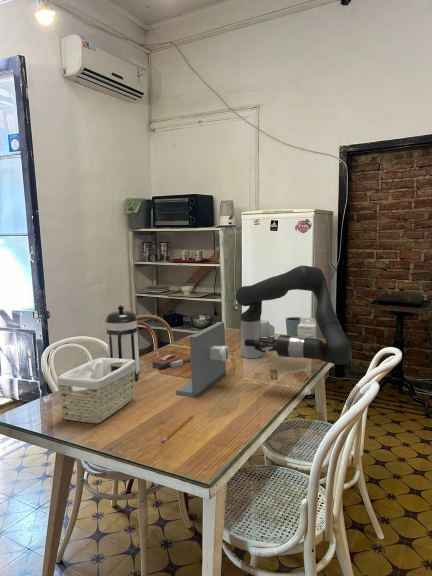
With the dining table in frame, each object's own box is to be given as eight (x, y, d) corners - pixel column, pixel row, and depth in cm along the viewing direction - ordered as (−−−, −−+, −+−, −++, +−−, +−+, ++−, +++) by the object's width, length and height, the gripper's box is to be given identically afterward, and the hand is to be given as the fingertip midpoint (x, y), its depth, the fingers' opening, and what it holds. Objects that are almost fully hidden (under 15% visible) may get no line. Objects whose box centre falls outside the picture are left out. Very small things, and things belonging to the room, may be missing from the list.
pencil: (164, 443, 119) (194, 416, 136) (162, 440, 119) (193, 413, 136) (161, 444, 119) (192, 417, 137) (160, 441, 120) (191, 414, 137)
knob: (230, 358, 162) (229, 344, 162) (224, 363, 157) (224, 348, 157) (215, 357, 165) (215, 343, 164) (209, 361, 160) (209, 347, 159)
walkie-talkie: (163, 372, 183) (195, 361, 198) (162, 362, 182) (194, 351, 197) (149, 368, 188) (181, 357, 203) (149, 359, 188) (181, 348, 203)
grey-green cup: (297, 344, 219) (296, 321, 218) (281, 341, 227) (281, 318, 226) (309, 340, 226) (308, 318, 225) (293, 337, 234) (293, 315, 232)
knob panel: (235, 375, 174) (233, 322, 171) (208, 398, 150) (206, 337, 147) (206, 372, 179) (204, 321, 176) (176, 394, 155) (173, 335, 153)
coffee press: (97, 379, 175) (92, 307, 172) (129, 369, 187) (125, 301, 183) (121, 388, 164) (116, 311, 160) (154, 377, 175) (150, 305, 172)
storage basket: (101, 394, 158) (98, 355, 157) (139, 398, 153) (137, 358, 151) (57, 421, 136) (53, 376, 134) (100, 427, 131) (97, 381, 129)
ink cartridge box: (297, 348, 212) (296, 319, 210) (299, 345, 216) (299, 317, 214) (314, 349, 208) (314, 320, 206) (316, 347, 212) (316, 318, 211)
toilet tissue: (278, 336, 238) (278, 321, 237) (257, 339, 232) (257, 323, 231) (269, 333, 246) (269, 318, 245) (249, 336, 240) (249, 321, 239)
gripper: (296, 331, 155) (251, 328, 162) (287, 341, 143) (238, 336, 150) (296, 351, 156) (251, 347, 163) (287, 362, 144) (239, 357, 151)
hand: (245, 342), depth 156 cm, fingers closed
